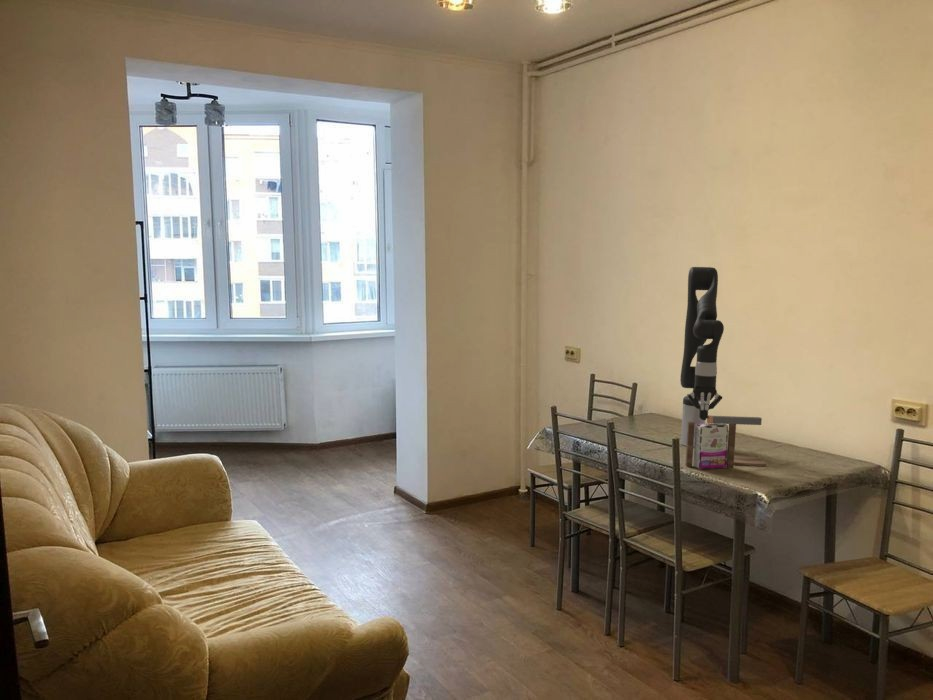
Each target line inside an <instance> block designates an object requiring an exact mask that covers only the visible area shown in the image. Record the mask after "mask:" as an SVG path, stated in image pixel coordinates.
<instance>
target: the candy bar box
mask: <svg viewBox="0 0 933 700" xmlns="http://www.w3.org/2000/svg"><path fill="white" fill-rule="evenodd" d="M728 432H729V424H714V423H713V424H710V423H707V422H706V423H705V424H695V439H694V447H693V467H695V468H697V469H698V470H713V469H714V470H715V469H716V470H717V469H727V467H726V466H727V465H726V460H727V449H728Z"/></svg>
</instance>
